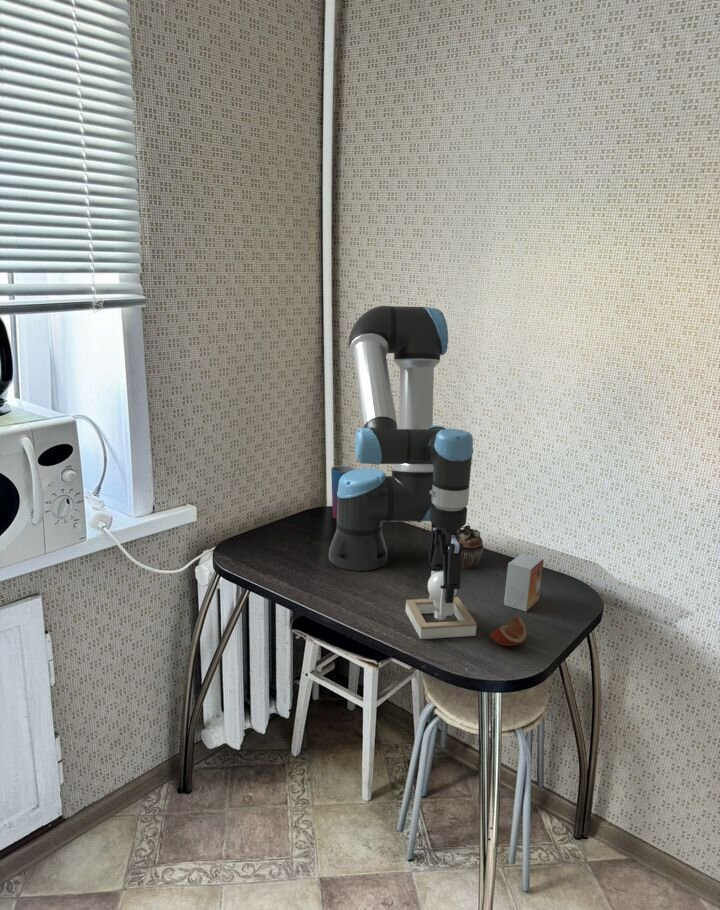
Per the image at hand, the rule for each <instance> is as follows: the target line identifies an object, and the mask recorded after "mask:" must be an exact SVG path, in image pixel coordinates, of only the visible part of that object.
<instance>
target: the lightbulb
mask: <svg viewBox="0 0 720 910" xmlns="http://www.w3.org/2000/svg"><path fill="white" fill-rule="evenodd" d="M441 585H444V579H443V571H441V570H440V571H439V572H436V573H434V574H433V575H432V576H431V575H430V577H429V579H428V581H427V590H428V594H429V596H430V595H431V597H432V599H433V604H434V606H435V608H434V609H435V610H434V613H433V618H434V619H435V620H437V621H444V620H446V619H447V616H440V614H439V613H440V601H441V588H440V586H441ZM457 592H458V589H455V595H457Z"/></svg>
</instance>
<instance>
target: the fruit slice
mask: <svg viewBox="0 0 720 910" xmlns="http://www.w3.org/2000/svg"><path fill="white" fill-rule="evenodd" d="M489 635H490V638H491V639H492V640H493V641H494V642H495V643H496V644H498V645H500V646H503V647H504V646H505V647H509V646H510V647H513V646H517V645H520V644H522V643H524V641H525V640H526V638H527V636H528V630H527V627H526V624H525V622H524V620H523V619H522V617H521V615H518V616H516V617H514V618H513V619H511V620H509V621H508V622H507V623H504V624H503V625H501V626H500V627H498V628H497V629H495V630H494V631H492V633H490V634H489Z"/></svg>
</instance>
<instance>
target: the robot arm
mask: <svg viewBox="0 0 720 910" xmlns="http://www.w3.org/2000/svg"><path fill="white" fill-rule="evenodd" d="M448 344H449V329H448V324H447V320H446V317H445V315H444V313H443V311H442V310H440V309H439V308H435V307H426V306H401V305H400V306H396V305H395V306H393V305H392V306H391V305H380V306H375V307H372V308H371V309H368V310H367V311H366V312H364V313H362V315H361V316H360V317H359V318H358V319H357V320H356V321H355V323H353V326H352V329H351V331H350V333H349V337H348V352H349V356H350V358H351V359H352V360H353V361H354V367H355V375H356V381H357V390H358V398H359V399H358V400H359V406H360V414H361V415H360V416H361V423H362V428H358V429H357V430H356V433H355V438H354V439H355V440H354V448H355V449H354V450H355V451H354V452H355V458H356V461H357V462H358V463H360V464H367V465H394V466H393V467H391V475H386V473H385V471H384V470H382V469H379V468H372V467H371V468H367V467H366V468H357V469H354V470H352V471H349V472H347V473H345V474H344V475H342V476H341V478H340V480H339V485H338V492H337V496H338V507H337V519H336V530H335V533H334V535H333V537H332V541H331V542H330V546H329V549H328V560H329V562H330V563H331V564H332V565H334V566H336V567H338V568H341V569H344V570H348V571H356V572H358V571H359V572H360V571H361V572H362V571H371V570H372V571H373V570H376V569H380V568H382V567H383V566H385V565H386V564H387V562H388V549H387V546H386V542H385V538H384V535H383V523H386V522H387V523H393V522H394V523H397V522H398V523H401V522H402V523H403V522H405V523H406V522H412V523H413V522H417V523H422V522H430V523H431V535H430V543H429V551H428V564H430V569H431V573H430V577H431V576H432V575H433V574H434V573H436V572H439V571H443V579H444V585H441V586H440V588H441V601H440V613H439V614H440V616H446V617H448V616H454V613H453V608H454V597H456V594H455V589H457V590H460V589H461V575H462V573H461V572H462V568H461V557H462V550H463V544H462V543H458V541H459V535H458V531H457V530H458V529H459V528H460V527H465V526H466V524H467V516H468V508H467V506H468V504H469V498H470V483H471V482H470V481H471V471H472V461H473V454H474V437H473V435H472V433H470V432H469V431H465V430H463V429H459V428H446V427H444V426H442V425H437V424H436V425H434V423H433V422H434V421H433V420H434V419H433V418H434V384H435V382H434V379H435V378H434V377H435V375H434V373H435V367H437V365H438V364H439V363H441V356H444V355H445V354H446V353H447V351H448V348H449V347H448ZM388 354H393V361H394V363H395V364H396V365H397V366H398V368H399V390H398V391H399V393H398V394H399V396H398V403H399V404H398V421H397V415H396V410H395V404H394V403H395V402H394V398H393V391H392V385H391V384H392V383H391V379H390V373H389V367H388V361H387V355H388ZM447 550H449V551H447ZM428 599H430V600H433V599H432V597H431V595H430V594H429V597H428Z"/></svg>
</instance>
